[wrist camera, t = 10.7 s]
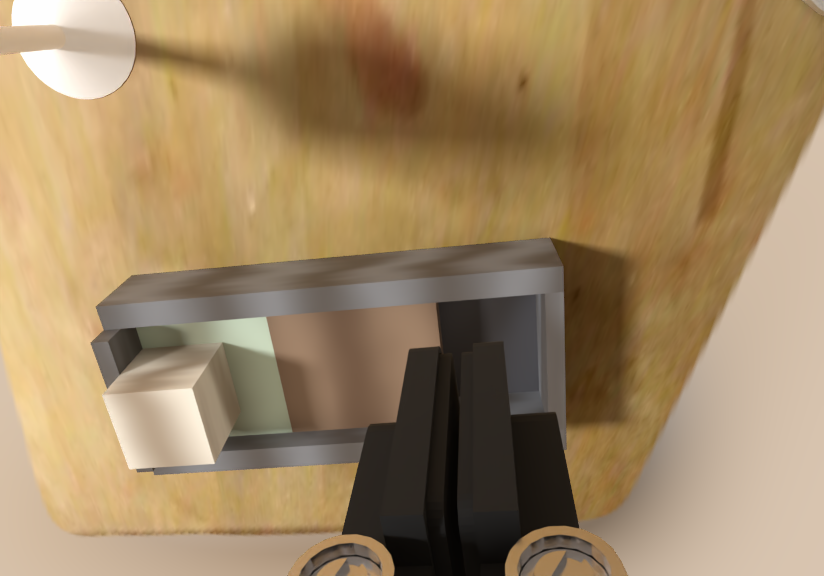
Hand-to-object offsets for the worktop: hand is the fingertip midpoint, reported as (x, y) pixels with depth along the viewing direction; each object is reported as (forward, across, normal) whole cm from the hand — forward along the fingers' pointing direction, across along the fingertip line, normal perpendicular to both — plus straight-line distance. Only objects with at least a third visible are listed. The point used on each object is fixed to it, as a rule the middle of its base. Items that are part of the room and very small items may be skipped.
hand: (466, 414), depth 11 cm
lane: (+26, +9, +13) cm, 30 cm away
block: (+22, +18, +12) cm, 31 cm away
